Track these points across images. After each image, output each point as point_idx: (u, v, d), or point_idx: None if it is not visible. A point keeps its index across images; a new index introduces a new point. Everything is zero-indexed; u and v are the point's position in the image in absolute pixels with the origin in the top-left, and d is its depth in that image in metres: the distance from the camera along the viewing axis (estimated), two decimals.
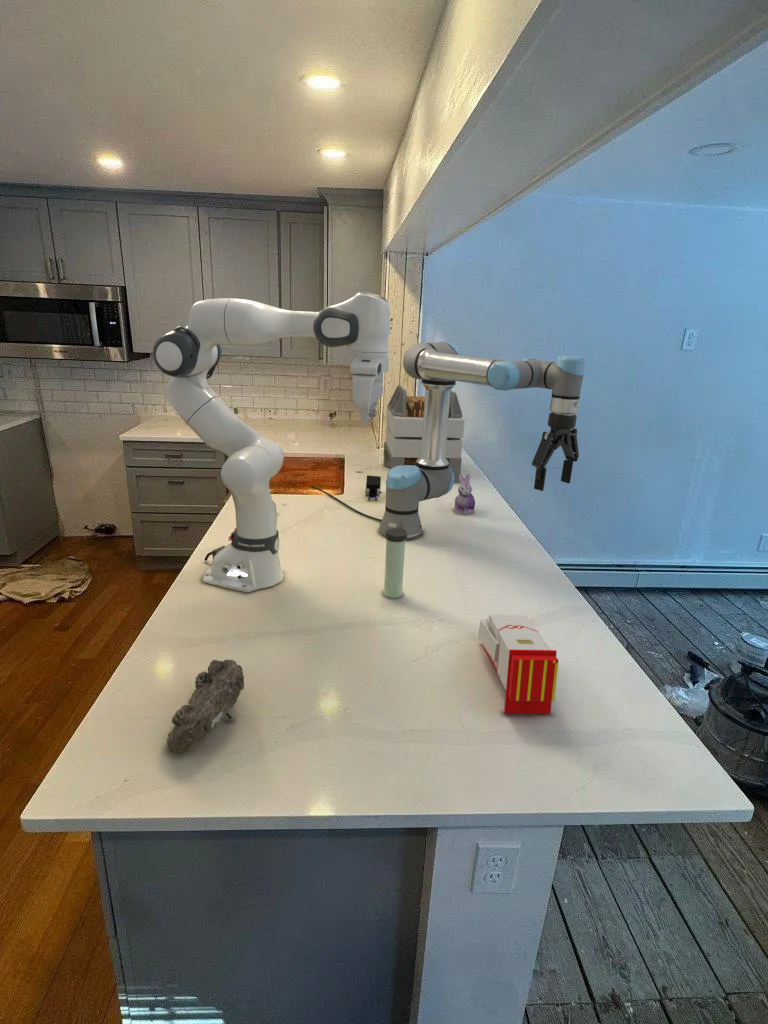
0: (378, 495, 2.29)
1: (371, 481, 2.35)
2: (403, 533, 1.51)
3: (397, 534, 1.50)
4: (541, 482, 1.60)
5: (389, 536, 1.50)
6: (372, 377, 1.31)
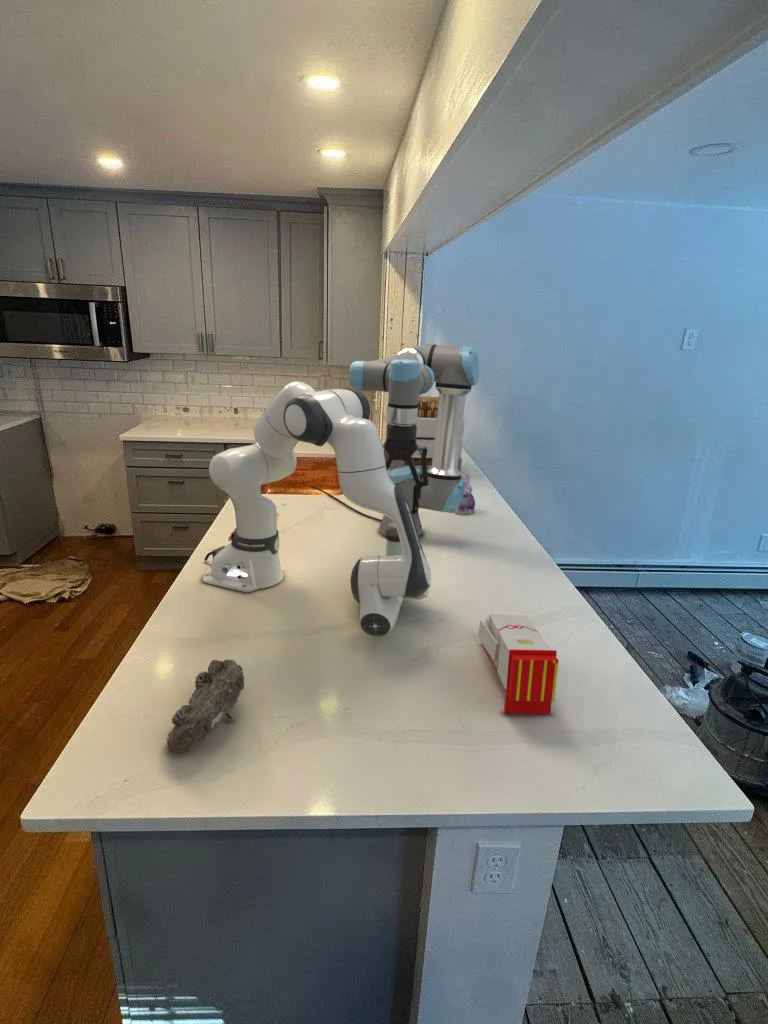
0: None
1: None
2: None
3: (397, 534, 1.50)
4: None
5: (389, 536, 1.50)
6: None
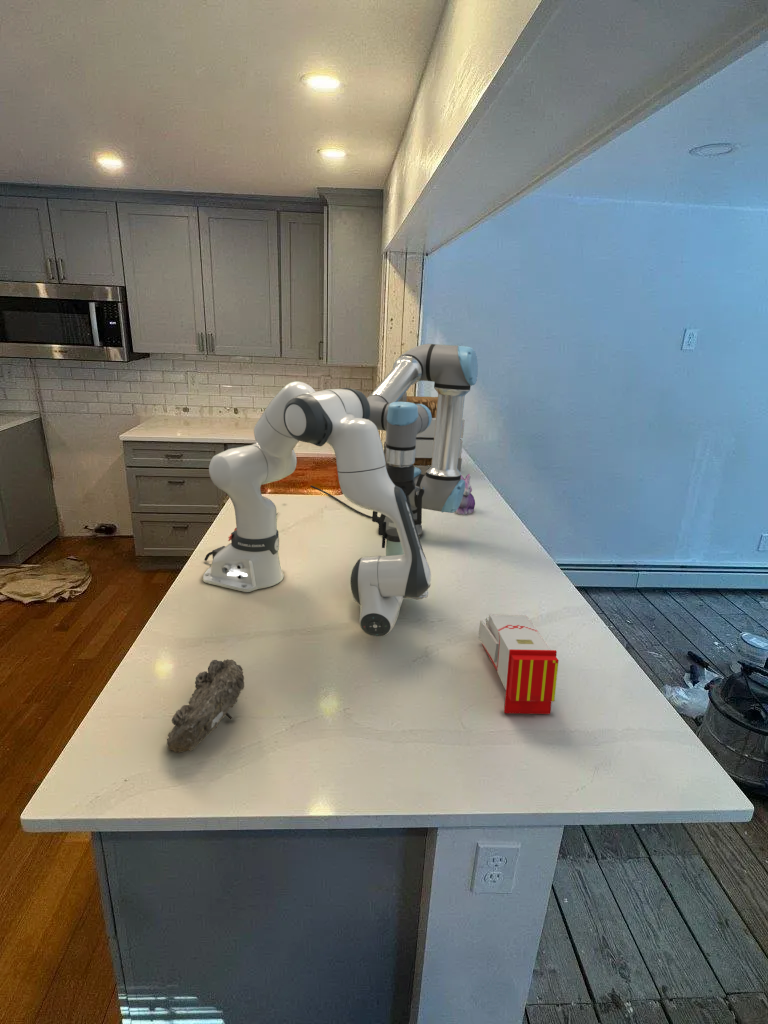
0: None
1: None
2: None
3: (397, 534, 1.50)
4: None
5: (389, 536, 1.50)
6: None
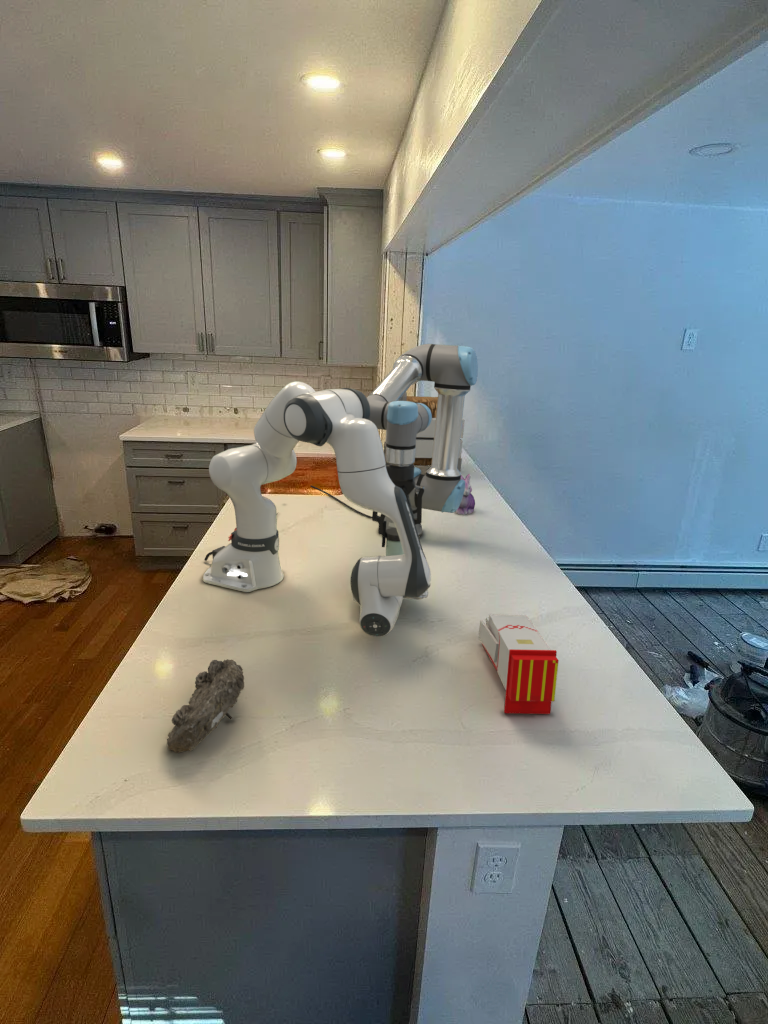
0: None
1: None
2: (393, 528, 1.53)
3: None
4: None
5: None
6: None
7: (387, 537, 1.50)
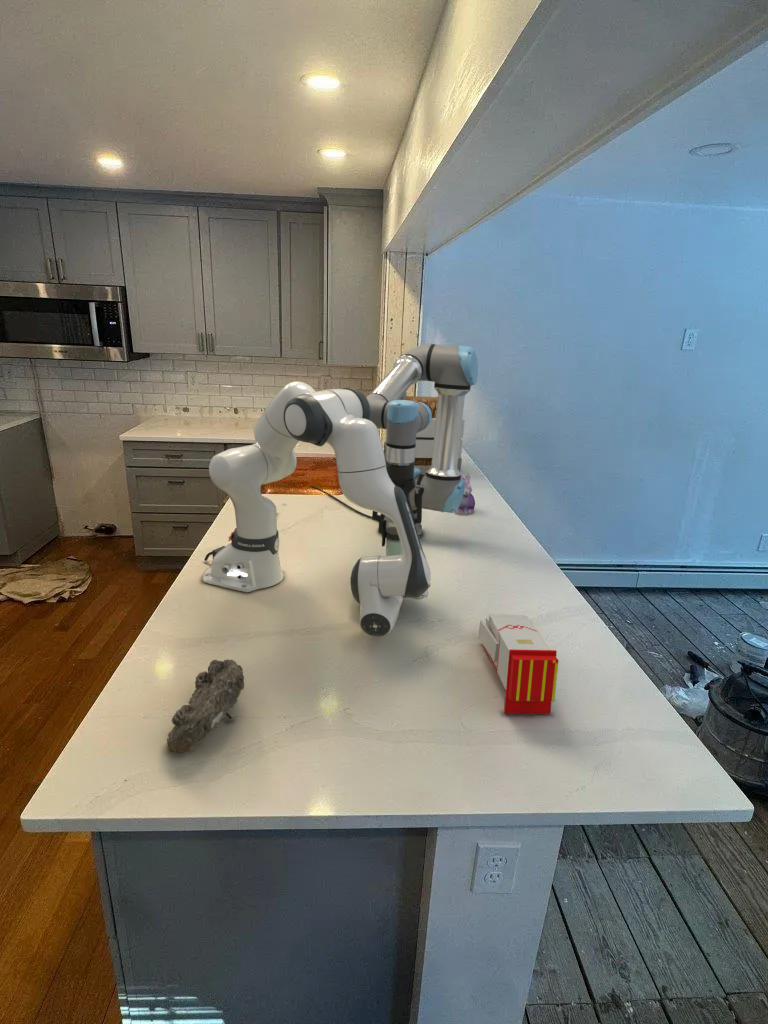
0: None
1: None
2: (392, 533, 1.50)
3: (390, 530, 1.51)
4: None
5: None
6: None
7: None
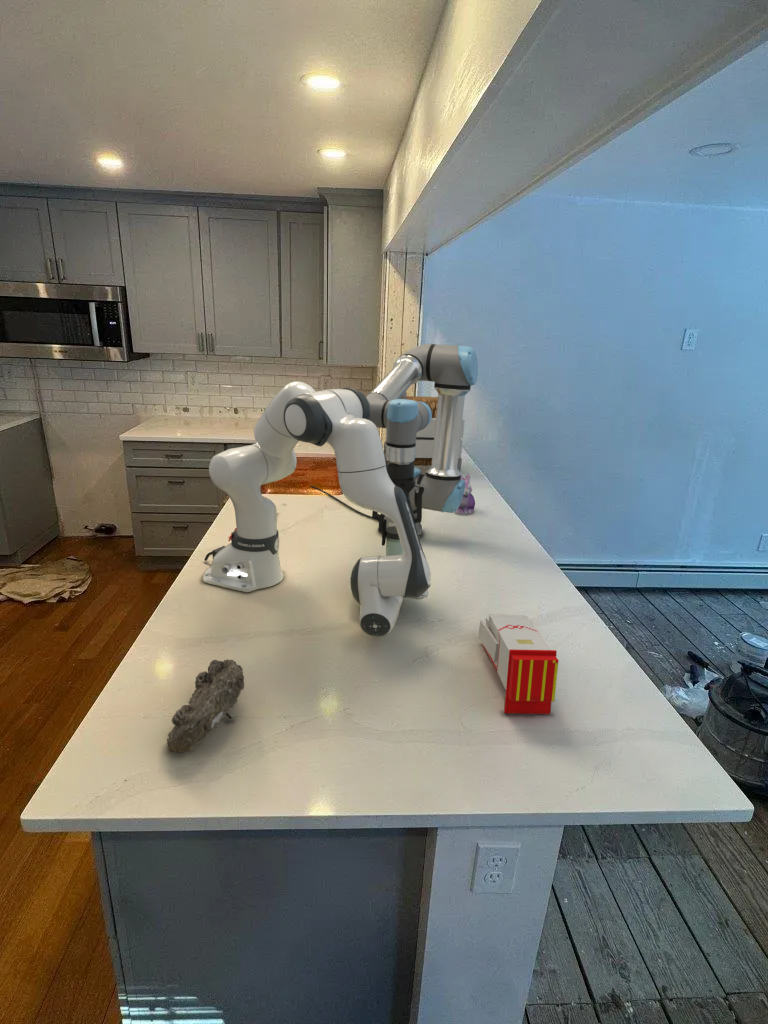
0: None
1: None
2: None
3: None
4: None
5: (395, 535, 1.49)
6: None
7: None
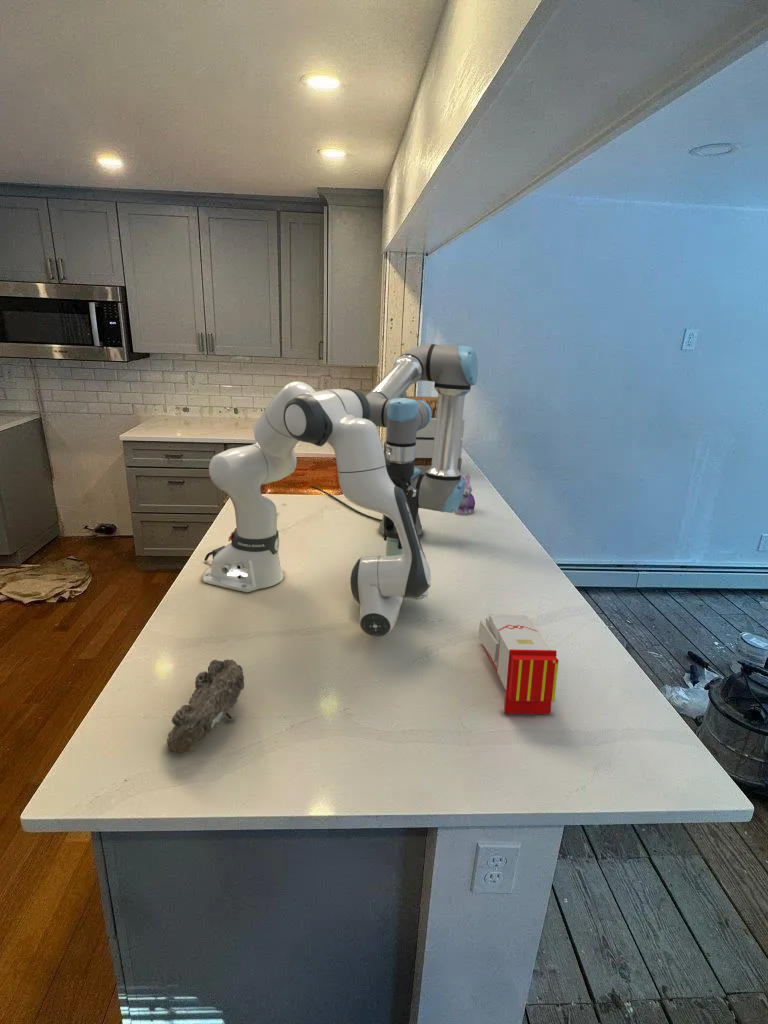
0: None
1: None
2: (390, 527, 1.53)
3: None
4: None
5: None
6: None
7: (392, 536, 1.49)
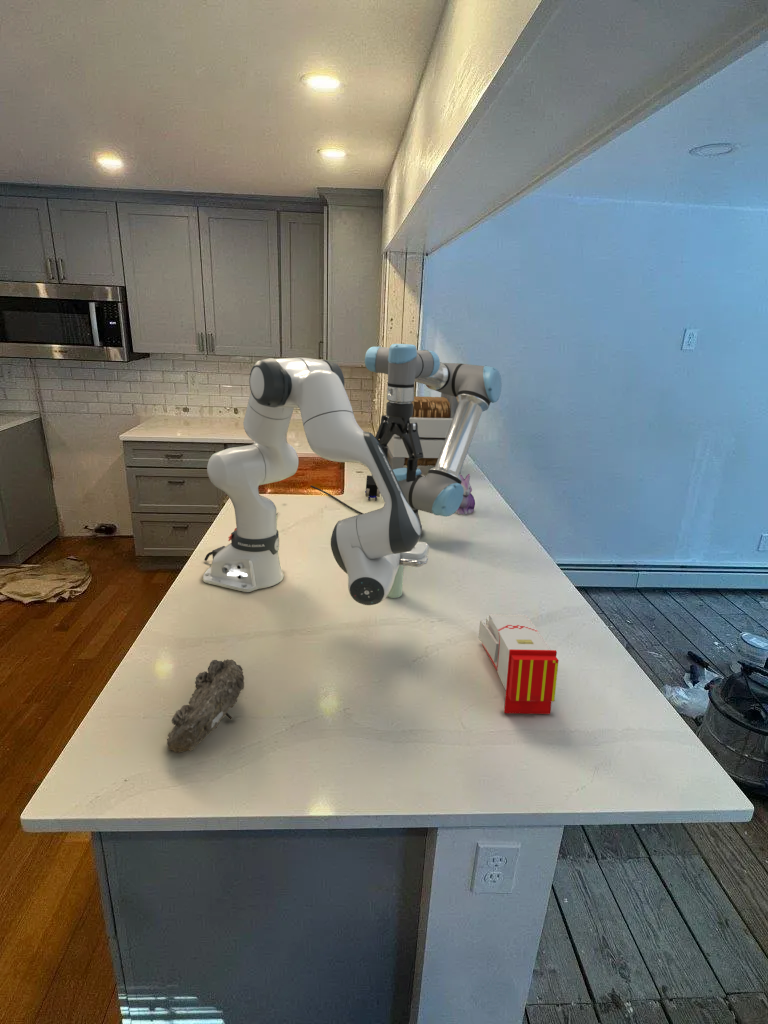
0: (378, 495, 2.29)
1: (371, 481, 2.35)
2: None
3: None
4: None
5: None
6: None
7: None
